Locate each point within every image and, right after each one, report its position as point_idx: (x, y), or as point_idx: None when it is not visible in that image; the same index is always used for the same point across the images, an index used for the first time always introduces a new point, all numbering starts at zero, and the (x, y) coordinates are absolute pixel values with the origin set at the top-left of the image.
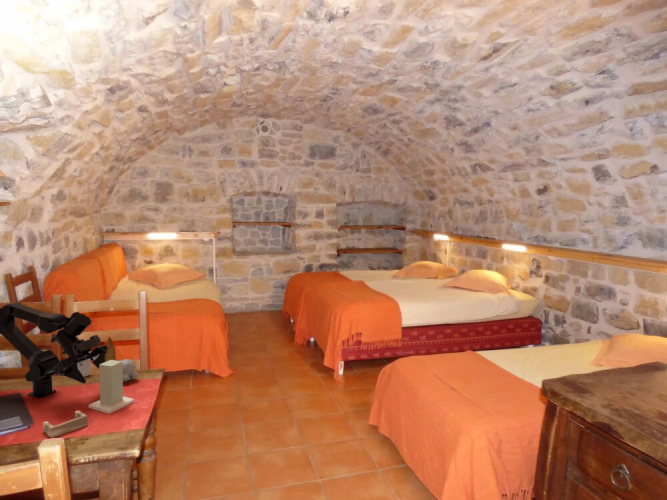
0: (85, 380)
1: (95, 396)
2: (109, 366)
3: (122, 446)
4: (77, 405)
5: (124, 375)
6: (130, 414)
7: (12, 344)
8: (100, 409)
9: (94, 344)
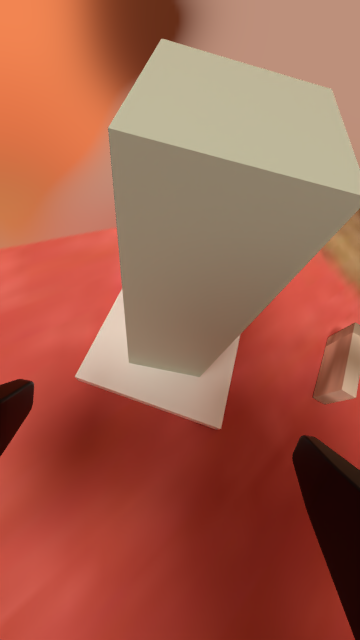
0: (315, 441)
1: (75, 499)
2: (332, 107)
3: (355, 213)
4: (205, 522)
5: None
6: None
7: None
8: (235, 350)
9: None
